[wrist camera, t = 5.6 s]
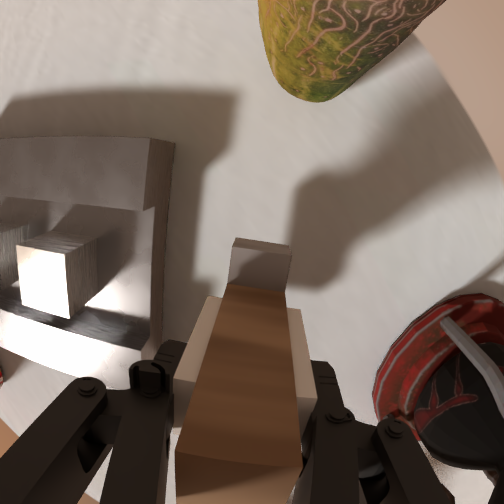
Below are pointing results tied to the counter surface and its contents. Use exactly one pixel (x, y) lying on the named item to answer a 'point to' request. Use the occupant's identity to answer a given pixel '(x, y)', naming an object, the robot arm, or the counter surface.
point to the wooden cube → (58, 272)
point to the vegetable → (333, 40)
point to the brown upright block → (244, 392)
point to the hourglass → (451, 385)
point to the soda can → (1, 378)
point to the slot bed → (108, 247)
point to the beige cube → (9, 253)
